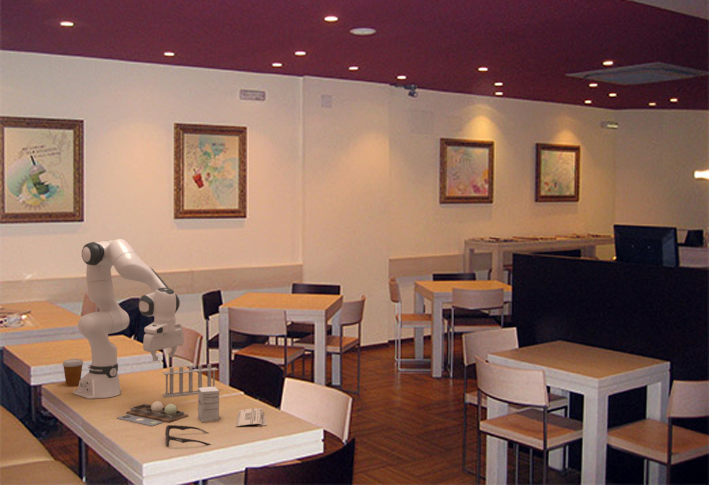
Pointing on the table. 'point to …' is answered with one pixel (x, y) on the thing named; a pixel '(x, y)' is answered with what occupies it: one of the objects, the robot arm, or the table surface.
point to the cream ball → (157, 407)
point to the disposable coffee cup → (72, 371)
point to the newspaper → (251, 417)
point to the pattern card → (140, 420)
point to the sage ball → (170, 409)
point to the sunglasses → (181, 438)
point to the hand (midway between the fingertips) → (163, 358)
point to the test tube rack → (189, 380)
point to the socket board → (146, 412)
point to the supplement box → (208, 404)
